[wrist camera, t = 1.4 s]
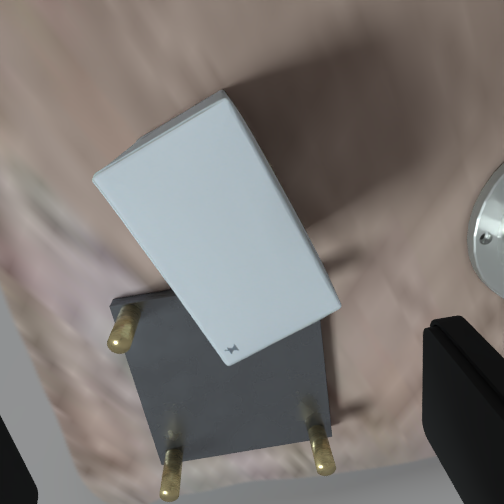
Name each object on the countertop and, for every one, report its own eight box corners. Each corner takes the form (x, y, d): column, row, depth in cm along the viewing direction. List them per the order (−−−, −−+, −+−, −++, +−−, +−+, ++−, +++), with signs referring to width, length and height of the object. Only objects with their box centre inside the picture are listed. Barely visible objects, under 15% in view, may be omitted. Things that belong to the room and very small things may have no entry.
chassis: (312, 266, 30) (326, 298, 26) (329, 427, 36) (343, 473, 32) (113, 299, 30) (95, 336, 26) (163, 454, 36) (155, 505, 32)
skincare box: (305, 229, 29) (348, 311, 19) (222, 274, 30) (223, 373, 20) (226, 83, 25) (230, 92, 15) (133, 139, 26) (81, 181, 16)
